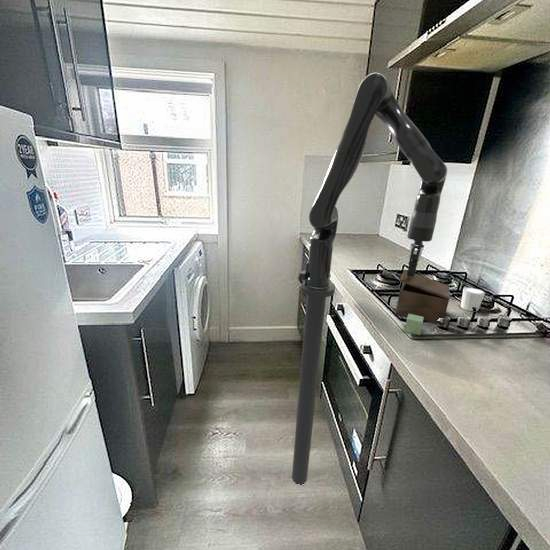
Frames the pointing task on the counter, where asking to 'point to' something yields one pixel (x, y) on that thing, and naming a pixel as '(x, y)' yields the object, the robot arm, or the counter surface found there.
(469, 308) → the white cup
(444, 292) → the lid
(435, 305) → the chest
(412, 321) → the block
